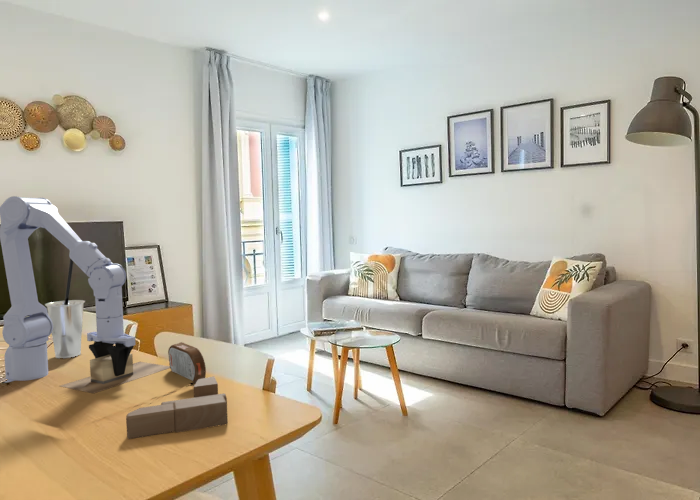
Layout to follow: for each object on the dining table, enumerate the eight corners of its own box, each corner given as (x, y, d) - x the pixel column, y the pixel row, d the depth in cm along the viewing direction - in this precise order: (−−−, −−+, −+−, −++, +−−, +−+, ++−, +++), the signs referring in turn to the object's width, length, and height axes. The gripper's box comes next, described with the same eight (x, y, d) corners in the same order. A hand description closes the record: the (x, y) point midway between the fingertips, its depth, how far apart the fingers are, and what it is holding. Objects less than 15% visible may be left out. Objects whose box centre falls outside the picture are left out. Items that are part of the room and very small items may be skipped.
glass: (79, 360, 144) (73, 251, 142) (38, 361, 144) (32, 252, 143) (98, 350, 155) (93, 249, 153) (60, 351, 155) (55, 250, 153)
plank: (59, 391, 118) (58, 385, 118) (140, 366, 137) (139, 361, 137) (93, 398, 112) (93, 393, 112) (173, 371, 131) (172, 366, 131)
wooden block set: (231, 396, 96) (125, 411, 90) (232, 426, 97) (127, 443, 90) (219, 371, 112) (128, 382, 106) (220, 397, 113) (129, 410, 106)
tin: (207, 385, 120) (206, 349, 119) (194, 389, 117) (193, 352, 117) (179, 372, 131) (177, 339, 130) (166, 375, 129) (165, 341, 128)
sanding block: (90, 381, 121) (89, 360, 120) (120, 372, 128) (119, 351, 127) (103, 383, 118) (102, 362, 118) (133, 374, 125) (132, 353, 125)
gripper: (74, 317, 122) (77, 374, 123) (115, 321, 115) (118, 382, 116) (101, 312, 128) (103, 366, 129) (141, 316, 121) (144, 373, 122)
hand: (112, 373), depth 123 cm, fingers closed on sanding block, 4 cm apart
